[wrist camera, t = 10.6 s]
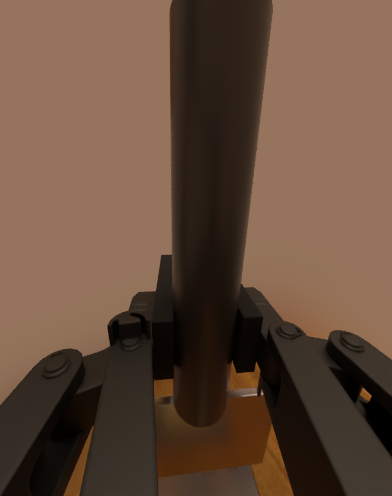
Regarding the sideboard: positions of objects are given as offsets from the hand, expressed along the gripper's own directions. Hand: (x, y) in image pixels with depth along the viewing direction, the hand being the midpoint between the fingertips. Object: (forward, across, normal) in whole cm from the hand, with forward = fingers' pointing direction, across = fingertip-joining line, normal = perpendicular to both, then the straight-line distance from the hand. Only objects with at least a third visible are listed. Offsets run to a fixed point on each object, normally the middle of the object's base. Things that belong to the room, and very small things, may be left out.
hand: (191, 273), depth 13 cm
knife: (-5, 0, -10) cm, 11 cm away
